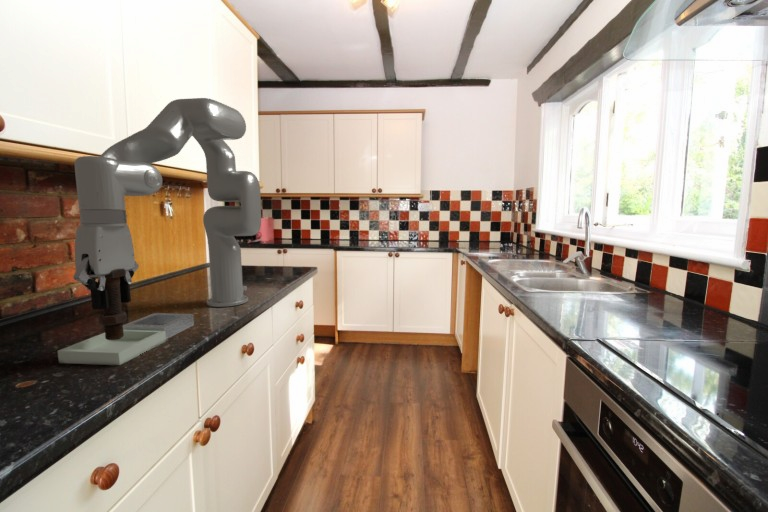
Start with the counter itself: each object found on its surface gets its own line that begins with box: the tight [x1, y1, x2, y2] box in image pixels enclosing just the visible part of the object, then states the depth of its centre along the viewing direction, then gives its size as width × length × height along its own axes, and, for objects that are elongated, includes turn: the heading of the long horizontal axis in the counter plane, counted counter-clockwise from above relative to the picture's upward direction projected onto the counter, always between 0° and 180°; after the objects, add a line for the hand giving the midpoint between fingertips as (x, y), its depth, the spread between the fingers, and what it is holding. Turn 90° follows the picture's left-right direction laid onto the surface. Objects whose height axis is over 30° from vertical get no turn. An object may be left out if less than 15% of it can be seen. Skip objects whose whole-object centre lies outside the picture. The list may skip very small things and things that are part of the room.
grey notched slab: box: [123, 312, 195, 340], centre depth 89 cm, size 11×11×3 cm
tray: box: [57, 330, 167, 366], centre depth 76 cm, size 13×13×2 cm
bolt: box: [95, 269, 128, 340], centre depth 75 cm, size 6×5×15 cm
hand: (112, 304), depth 75 cm, fingers closed on bolt, 4 cm apart
